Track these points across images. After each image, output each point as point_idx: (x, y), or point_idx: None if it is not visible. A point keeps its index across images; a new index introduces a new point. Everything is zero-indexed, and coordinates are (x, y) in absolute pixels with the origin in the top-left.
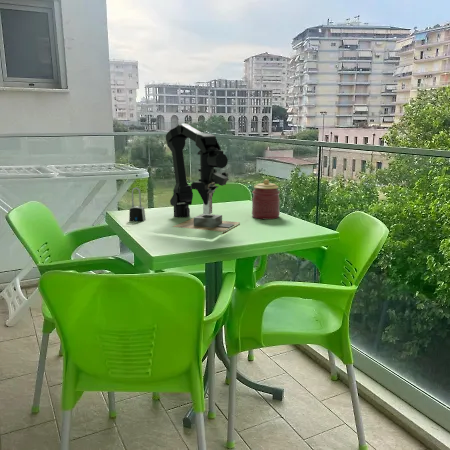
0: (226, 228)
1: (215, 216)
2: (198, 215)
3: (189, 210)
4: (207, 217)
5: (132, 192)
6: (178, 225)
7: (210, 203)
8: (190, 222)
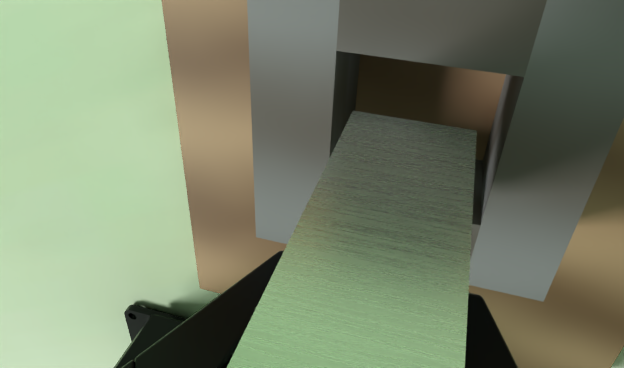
0: None
1: (392, 23)
2: None
3: (124, 358)
4: None
5: None
6: (542, 352)
7: (394, 245)
8: None
